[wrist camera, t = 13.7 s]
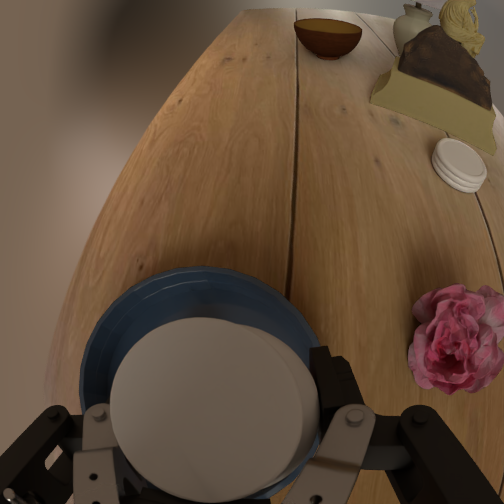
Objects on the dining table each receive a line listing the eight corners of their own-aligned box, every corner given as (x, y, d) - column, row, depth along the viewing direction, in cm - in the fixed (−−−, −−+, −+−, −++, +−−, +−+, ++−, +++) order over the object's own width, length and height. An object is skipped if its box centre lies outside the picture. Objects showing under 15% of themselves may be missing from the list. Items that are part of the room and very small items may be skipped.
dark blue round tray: (108, 478, 20) (82, 484, 16) (114, 292, 32) (93, 274, 28) (328, 492, 19) (336, 508, 14) (308, 277, 30) (312, 254, 26)
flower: (413, 403, 24) (394, 395, 19) (415, 324, 30) (396, 289, 24) (505, 387, 17) (522, 372, 12) (498, 304, 23) (504, 261, 17)
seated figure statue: (485, 125, 43) (517, 20, 17) (493, 155, 38) (538, 32, 12) (379, 81, 52) (388, -32, 26) (370, 103, 47) (381, -35, 21)
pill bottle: (197, 362, 17) (90, 296, 7) (296, 351, 16) (312, 267, 7) (205, 457, 13) (96, 508, 4) (310, 448, 13) (350, 515, 4)
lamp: (403, 44, 69) (409, -46, 35) (457, 73, 58) (473, -27, 24) (360, 46, 66) (361, -61, 31) (421, 77, 54) (436, -49, 20)
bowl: (321, 43, 67) (321, 16, 58) (371, 60, 59) (374, 29, 51) (281, 55, 62) (279, 24, 54) (336, 73, 55) (337, 36, 46)
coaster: (425, 173, 36) (432, 156, 33) (435, 143, 40) (441, 128, 37) (477, 204, 33) (486, 190, 30) (481, 170, 36) (488, 156, 33)
